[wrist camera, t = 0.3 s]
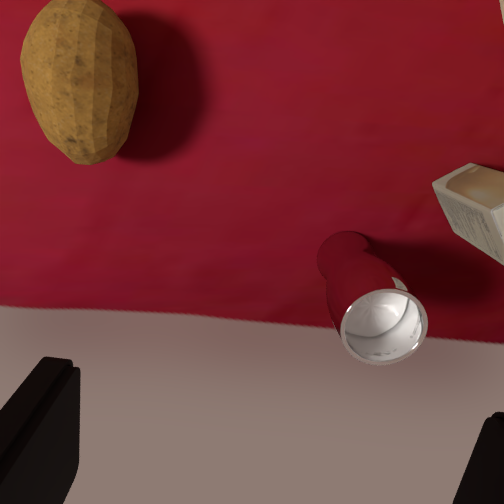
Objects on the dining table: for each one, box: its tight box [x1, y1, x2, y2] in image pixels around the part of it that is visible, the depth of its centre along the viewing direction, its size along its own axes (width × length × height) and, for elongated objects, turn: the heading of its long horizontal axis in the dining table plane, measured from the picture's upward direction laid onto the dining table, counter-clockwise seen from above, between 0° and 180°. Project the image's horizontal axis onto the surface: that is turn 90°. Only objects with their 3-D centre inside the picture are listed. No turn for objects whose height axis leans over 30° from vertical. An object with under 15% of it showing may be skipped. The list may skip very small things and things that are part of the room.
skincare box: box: [432, 163, 504, 265], centre depth 39 cm, size 6×4×12 cm
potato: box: [20, 0, 139, 165], centre depth 37 cm, size 10×13×9 cm
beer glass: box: [317, 231, 428, 365], centre depth 40 cm, size 7×7×15 cm
